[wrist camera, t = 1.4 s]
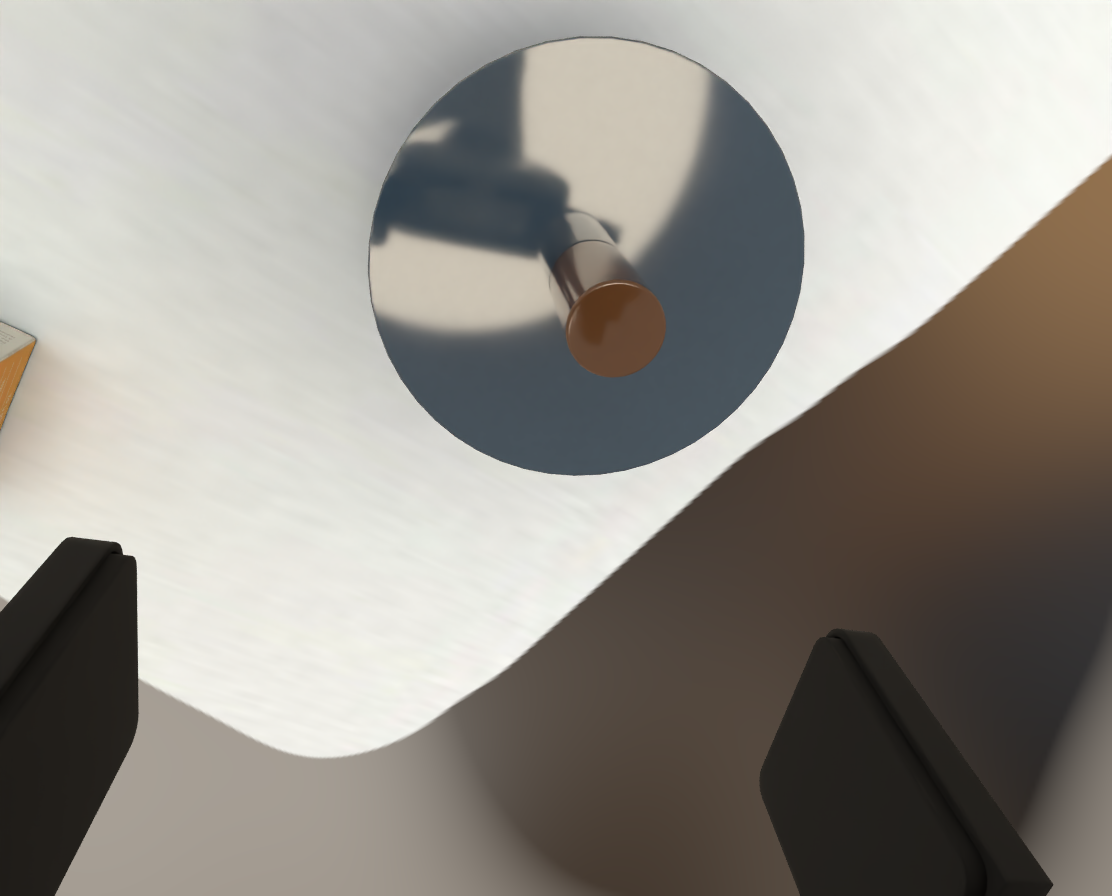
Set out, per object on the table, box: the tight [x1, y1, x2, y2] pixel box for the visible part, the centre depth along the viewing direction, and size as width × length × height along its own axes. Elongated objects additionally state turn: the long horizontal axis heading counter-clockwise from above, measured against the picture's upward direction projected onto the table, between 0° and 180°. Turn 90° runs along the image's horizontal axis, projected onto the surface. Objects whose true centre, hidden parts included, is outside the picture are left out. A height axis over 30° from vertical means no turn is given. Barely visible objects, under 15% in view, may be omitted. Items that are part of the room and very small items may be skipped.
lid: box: [368, 36, 804, 476], centre depth 23 cm, size 14×14×6 cm
